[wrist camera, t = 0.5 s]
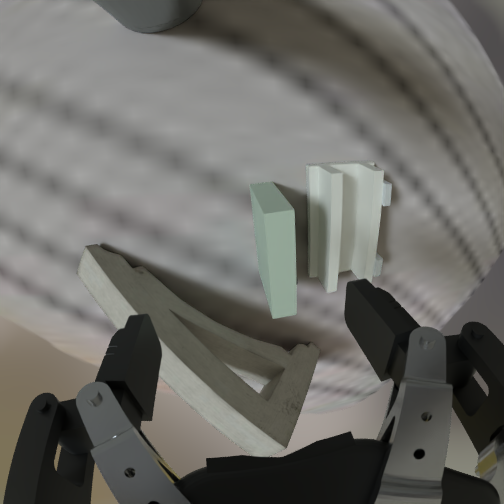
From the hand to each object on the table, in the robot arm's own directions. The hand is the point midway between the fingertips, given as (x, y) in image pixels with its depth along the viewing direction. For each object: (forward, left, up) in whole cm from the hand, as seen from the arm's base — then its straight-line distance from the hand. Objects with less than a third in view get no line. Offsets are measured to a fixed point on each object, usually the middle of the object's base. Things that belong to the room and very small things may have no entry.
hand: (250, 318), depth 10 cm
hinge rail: (+6, +13, -20) cm, 24 cm away
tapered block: (+6, +4, -20) cm, 21 cm away
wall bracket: (+17, -4, -20) cm, 27 cm away
